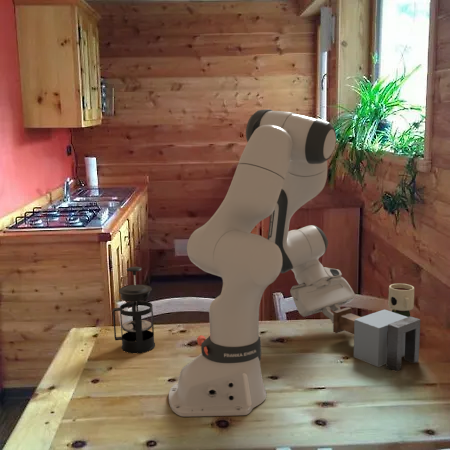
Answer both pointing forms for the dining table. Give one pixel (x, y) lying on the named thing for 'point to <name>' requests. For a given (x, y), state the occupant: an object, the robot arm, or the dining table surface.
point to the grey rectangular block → (374, 336)
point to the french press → (135, 318)
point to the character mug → (401, 298)
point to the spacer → (395, 342)
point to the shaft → (345, 321)
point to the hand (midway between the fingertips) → (338, 321)
